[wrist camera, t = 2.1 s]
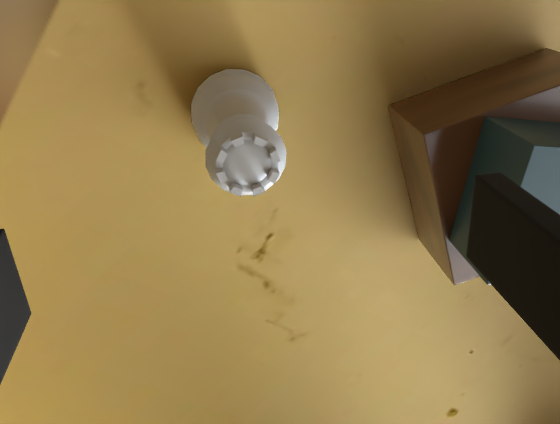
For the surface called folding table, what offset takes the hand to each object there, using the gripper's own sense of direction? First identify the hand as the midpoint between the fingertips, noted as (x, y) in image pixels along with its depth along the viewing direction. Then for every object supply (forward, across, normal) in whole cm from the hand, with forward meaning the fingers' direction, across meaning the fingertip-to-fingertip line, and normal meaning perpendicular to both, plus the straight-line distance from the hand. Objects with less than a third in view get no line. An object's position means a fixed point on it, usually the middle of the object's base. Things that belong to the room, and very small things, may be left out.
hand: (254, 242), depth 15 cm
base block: (+14, +14, -4) cm, 20 cm away
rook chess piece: (+14, 0, 0) cm, 14 cm away
